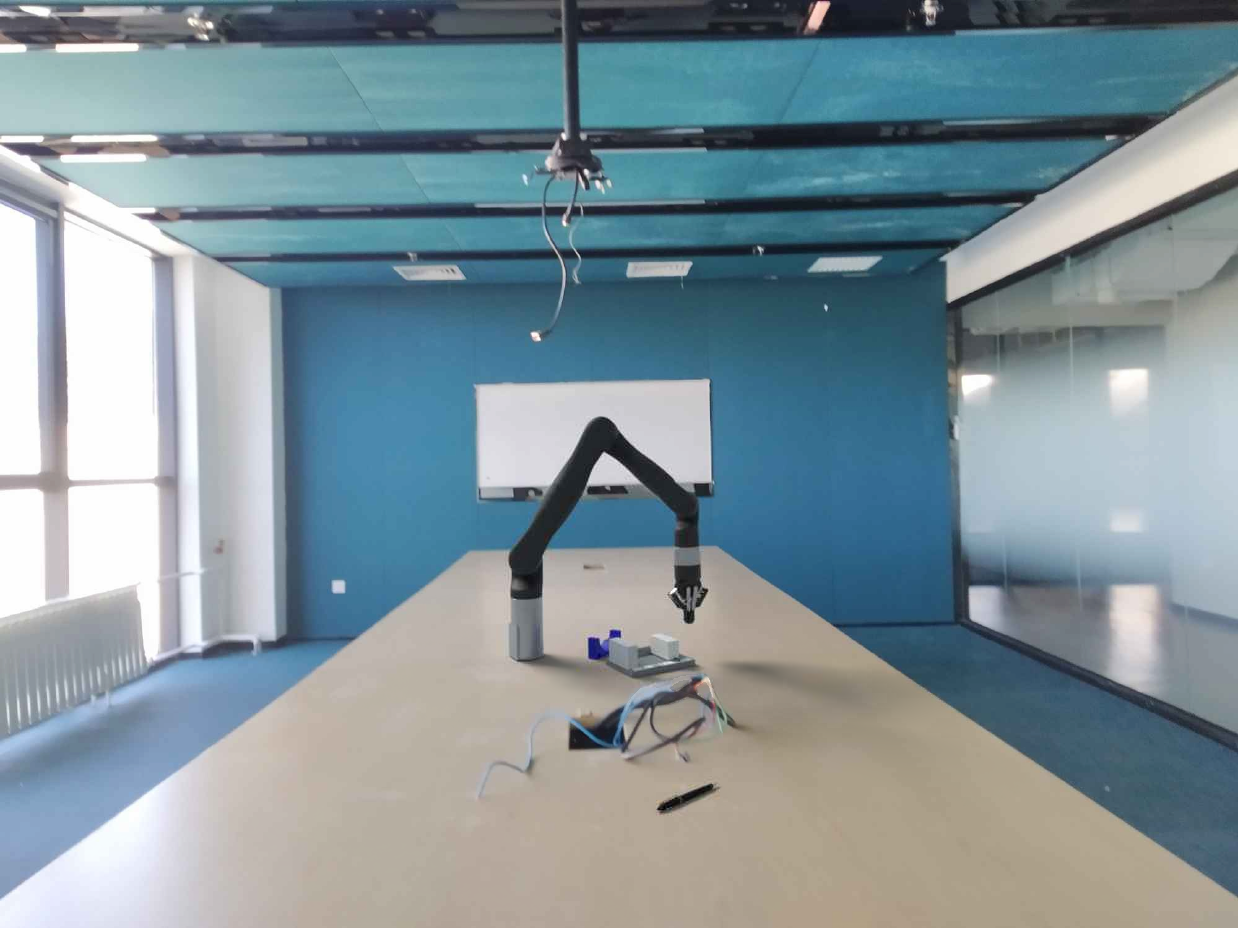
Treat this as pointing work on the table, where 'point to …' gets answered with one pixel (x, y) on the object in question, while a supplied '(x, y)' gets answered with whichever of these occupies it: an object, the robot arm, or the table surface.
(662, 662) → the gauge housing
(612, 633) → the cable clip
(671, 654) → the block
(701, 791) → the fountain pen
